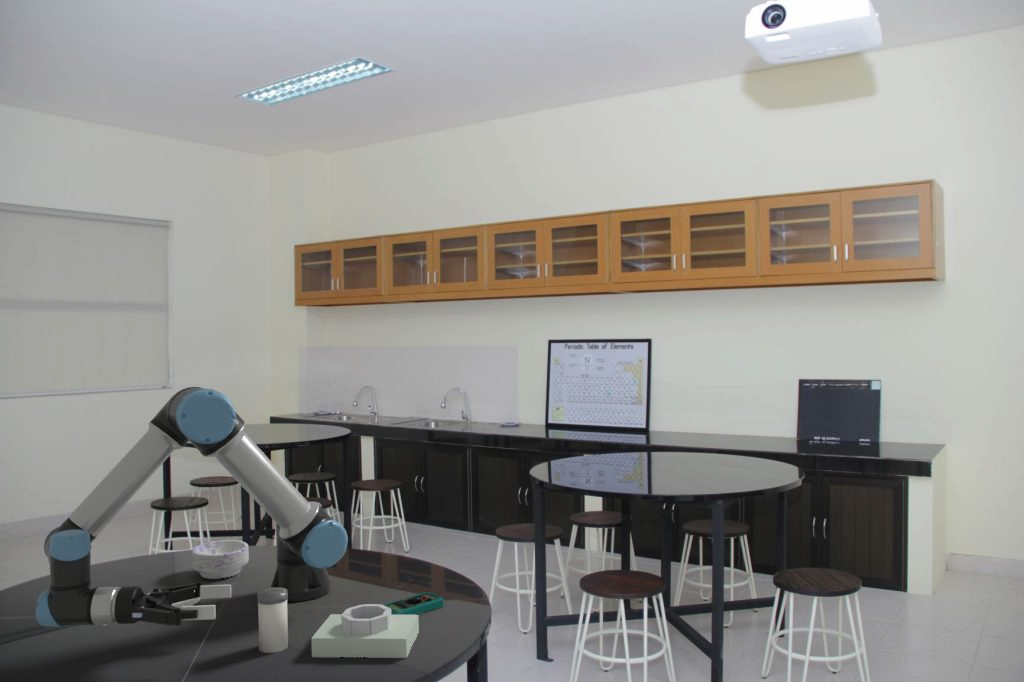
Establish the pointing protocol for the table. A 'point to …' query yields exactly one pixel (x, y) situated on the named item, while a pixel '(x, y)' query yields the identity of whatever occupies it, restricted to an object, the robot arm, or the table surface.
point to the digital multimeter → (415, 604)
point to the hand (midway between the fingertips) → (223, 601)
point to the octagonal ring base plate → (366, 633)
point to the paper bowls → (219, 558)
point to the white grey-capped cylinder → (273, 620)
